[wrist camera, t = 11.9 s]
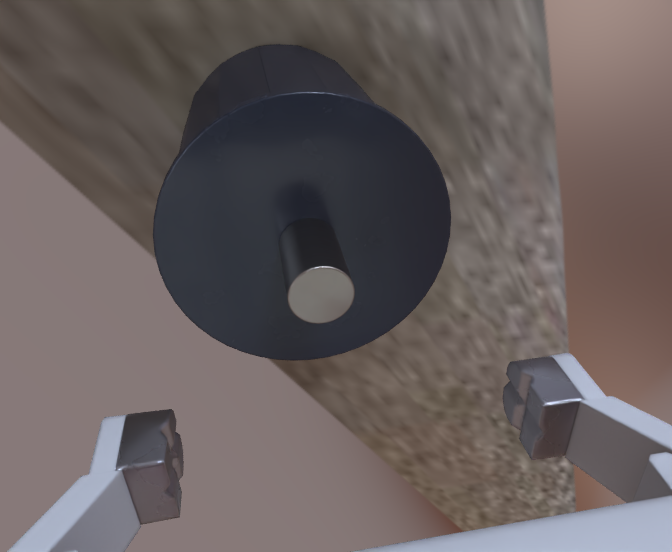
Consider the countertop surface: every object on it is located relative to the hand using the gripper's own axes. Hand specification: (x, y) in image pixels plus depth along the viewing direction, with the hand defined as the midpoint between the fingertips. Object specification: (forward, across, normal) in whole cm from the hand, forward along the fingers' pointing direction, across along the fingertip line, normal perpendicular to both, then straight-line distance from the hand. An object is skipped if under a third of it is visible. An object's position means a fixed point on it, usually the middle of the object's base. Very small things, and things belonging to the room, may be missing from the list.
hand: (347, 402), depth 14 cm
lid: (+11, 0, +1) cm, 11 cm away
